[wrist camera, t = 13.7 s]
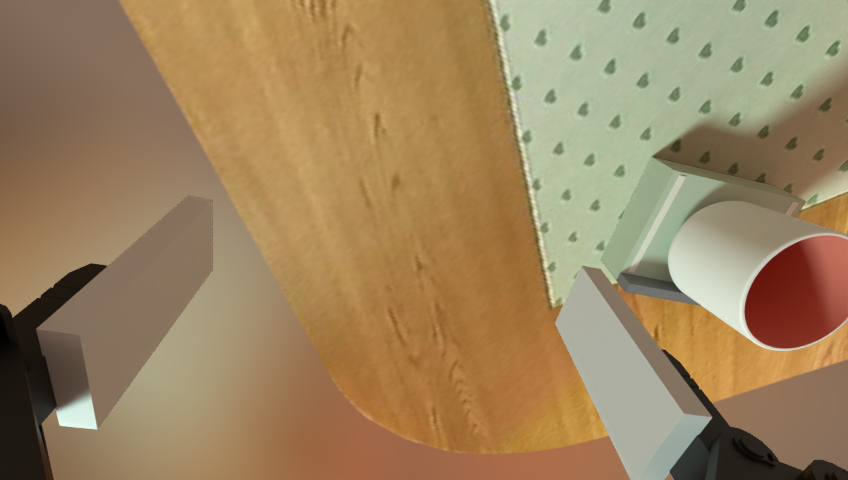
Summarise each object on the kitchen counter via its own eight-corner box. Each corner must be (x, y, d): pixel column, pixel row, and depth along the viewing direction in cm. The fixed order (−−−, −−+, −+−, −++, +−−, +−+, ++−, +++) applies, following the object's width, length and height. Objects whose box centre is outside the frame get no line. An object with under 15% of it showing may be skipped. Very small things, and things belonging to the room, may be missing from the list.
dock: (651, 156, 42) (687, 178, 37) (774, 185, 44) (824, 210, 39) (600, 260, 48) (625, 291, 42) (711, 281, 50) (748, 314, 44)
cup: (643, 240, 41) (719, 286, 31) (738, 175, 39) (847, 203, 30) (687, 312, 44) (769, 373, 35) (776, 254, 43) (887, 302, 33)
